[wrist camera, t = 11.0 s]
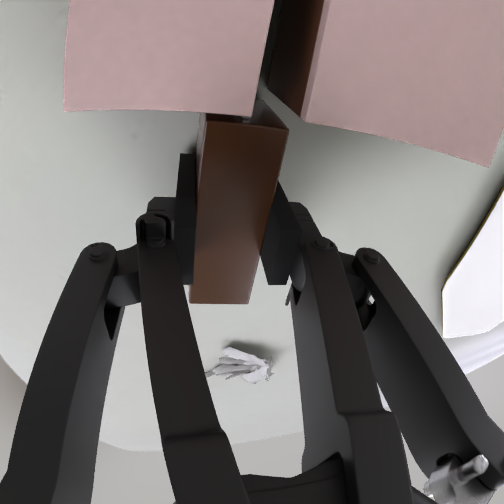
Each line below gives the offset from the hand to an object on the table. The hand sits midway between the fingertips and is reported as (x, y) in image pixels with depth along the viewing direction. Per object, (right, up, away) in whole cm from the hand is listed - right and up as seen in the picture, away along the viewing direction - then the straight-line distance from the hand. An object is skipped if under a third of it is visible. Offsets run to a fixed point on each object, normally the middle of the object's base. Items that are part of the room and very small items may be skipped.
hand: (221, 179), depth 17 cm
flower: (0, -14, +13) cm, 19 cm away
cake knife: (+1, +7, -5) cm, 8 cm away
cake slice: (-1, +9, -7) cm, 11 cm away
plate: (+33, -3, +11) cm, 35 cm away
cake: (+8, +9, -5) cm, 13 cm away
